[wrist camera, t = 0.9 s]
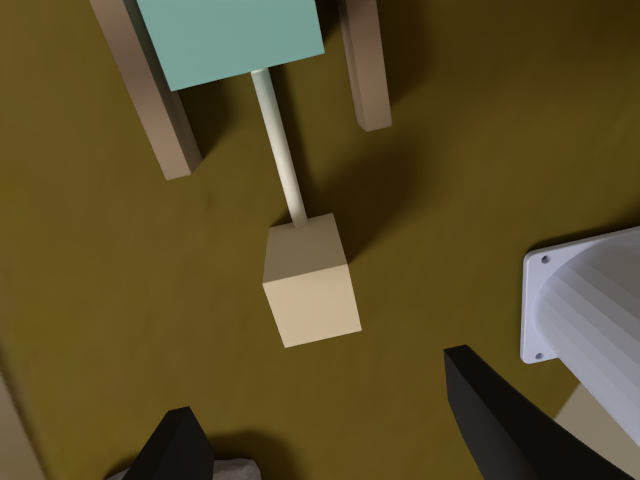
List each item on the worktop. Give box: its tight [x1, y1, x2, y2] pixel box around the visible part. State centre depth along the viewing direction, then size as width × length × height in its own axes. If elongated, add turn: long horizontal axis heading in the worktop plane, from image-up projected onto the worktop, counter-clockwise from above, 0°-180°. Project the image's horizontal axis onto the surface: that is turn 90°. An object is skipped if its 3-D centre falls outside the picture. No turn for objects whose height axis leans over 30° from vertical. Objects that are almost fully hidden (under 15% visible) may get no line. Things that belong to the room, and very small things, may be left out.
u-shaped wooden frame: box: [90, 0, 392, 180], centre depth 13 cm, size 10×9×2 cm
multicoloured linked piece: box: [137, 0, 362, 348], centre depth 14 cm, size 15×4×5 cm, turn 12°
